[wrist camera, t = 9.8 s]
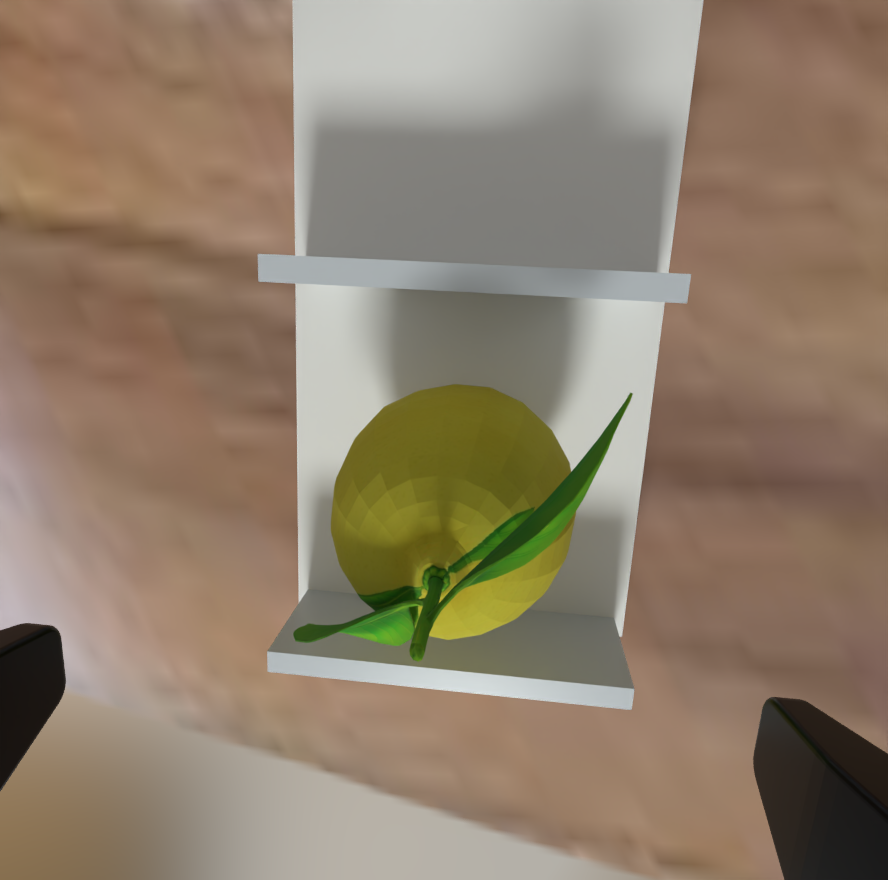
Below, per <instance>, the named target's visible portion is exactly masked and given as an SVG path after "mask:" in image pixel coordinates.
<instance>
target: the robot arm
mask: <svg viewBox="0 0 888 880" xmlns="http://www.w3.org/2000/svg"><path fill="white" fill-rule="evenodd" d="M65 684H66V677H65V668H64V660H63V651H62V642H61V636H60V633H59V631H58V630H57V629H56V628H55V627H54V626H50V625H41V624H31V623H24V624H19V625H16V626H13V627H10V628H6V629H3V630H0V791H1V790H2V788H3V786H4V785H5V784H6V782H7V781H8V779H9V777H10V776H11V775H12V773H13V771H14V770H15V768H16V767H17V765H18V764H19V762H20V761H21V759H22V758H23V756H24V755H25V753H26V752H27V750H28V749H29V747H30V746H31V744H32V743H33V741H34V740H35V738H36V737H37V735H38V734H39V732H40V731H41V729H42V728H43V726H44V724H45V723H46V722H47V720H48V719H49V717H50V716H51V714H52V713H53V711H54V710H55V708H56V706H57V705H58V704H59V702H60V700H61V698H62V696H63V693H64V690H65ZM753 765H754V773H755V778H756V781H757V785H758V789H759V792H760V796H761V799H762V803H763V806H764V810H765V813H766V817H767V820H768V824H769V827H770V831H771V834H772V838H773V841H774V845H775V848H776V852H777V855H778V859H779V862H780V866H781V869H782V873H783V876H784V880H888V754H887V753H886V752H884V751H883V750H881V749H879V748H878V747H876V746H875V745H873V744H872V743H870V742H869V741H867V740H866V739H864V738H862V737H861V736H859V735H858V734H856V733H855V732H853V731H852V730H850V729H848V728H847V727H845V726H844V725H842V724H841V723H839V722H838V721H836V720H834V719H833V718H831V717H830V716H828V715H827V714H825V713H824V712H822V711H821V710H819V709H817V708H816V707H814V706H813V705H811V704H810V703H808V702H806V701H804V700H800V699H790V698H780V697H771V698H769V699H768V700H766V702H765V704H764V706H763V709H762V714H761V719H760V724H759V729H758V735H757V740H756V745H755V750H754V757H753Z"/></svg>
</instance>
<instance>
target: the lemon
mask: <svg viewBox="0 0 888 880" xmlns="http://www.w3.org/2000/svg"><path fill="white" fill-rule="evenodd" d="M632 395H633V393H631V392H630V394H629V395H628V397H627V399H626V401H625V402H624V403H623V405H622V406H621V408H620V409H619V410H618V412H617V413H616V415H615V416H614V418H613V419H612V420H611V422H610V423H609V424H608V426H607V427H606V429H605V430H604V431H603V433H602V434H601V436H600V437H599V438H598V440H597V441H596V442H595V443H594V445H593V446H592V447H591V448H590V450H589V451H588V452H587V453H586V455H585V456H584V457H583V458H582V460H581V461H580V462H579V463H578V465H577V466H576V467H575V468H574V469H573V470H572V471H571V468H570V463H569V461H568V459H567V457H566V455H565V453H564V451H563V450H562V448H561V446H560V444H559V442H558V440H557V439H556V437H555V435H554V433H553V431H552V430H551V429H550V428H549V427H548V426H547V425H546V424H545V423H544V422H543V421H542V420H541V419H540V418H539V417H538V416H537V415H536V414H534V413H533V412H532V411H531V410H530V409H529V408H528V407H527V406H526V405H525V404H524V403H523V402H521V401H519V400H517V399H514V398H512V397H510V396H508V395H506V394H504V393H501V392H499V391H497V390H495V389H493V388H491V387H482V386H471V385H461V384H453V385H447V386H441V387H435V388H430V389H424V390H419V391H416V392H414V393H412V394H410V395H408V396H406V397H404V398H401V399H399V400H397V401H395V402H393V403H391V404H389V405H387V406H385V407H383V408H382V409H381V410H380V412H379V413H378V414H377V415H376V416H375V417H374V418H373V419H372V420H371V421H370V422H369V423H368V424H367V425H366V426H365V428H364V429H363V430H362V431H361V432H360V433H359V434H358V435H357V436H356V438H355V439H354V441H353V443H352V445H351V447H350V449H349V452H348V454H347V456H346V458H345V460H344V462H343V465H342V467H341V469H340V471H339V473H338V475H337V478H336V481H335V486H334V494H333V504H332V514H331V534H332V538H333V542H334V546H335V550H336V554H337V558H338V562H339V565H340V567H341V569H342V571H343V572H344V574H345V575H346V577H347V578H348V580H349V582H350V583H351V585H352V586H353V588H354V589H355V591H356V593H357V594H358V596H359V597H360V599H361V600H363V601H364V602H365V603H366V604H367V605H368V606H370V607H371V608H372V609H373V610H374V611H375V612H372V613H369V614H367V615H364V616H361V617H359V618H356V619H354V620H352V621H349V622H347V623H343V624H336V625H315V624H310V623H309V624H307V625H305V626H302V627H299V628H297V629H296V630H295V631H294V633H293V636H294V639H295V641H296V642H303V643H310V642H314V641H317V640H320V639H323V638H326V637H328V636H330V635H333V634H335V633H337V632H340V633H345V634H349V635H352V636H356V637H360V638H363V639H367V640H370V641H374V642H377V643H381V644H386V645H392V646H400V645H402V644H404V643H405V642H407V641H409V640H411V638H412V636H413V638H412V641H411V645H410V649H409V652H410V656H411V657H412V659H413V660H415V661H417V662H419V661H421V660H422V659H423V657H424V654H425V649H426V645H427V641H428V637H429V636H431V637H436V638H441V639H446V640H451V639H458V638H464V637H470V636H477V635H481V634H484V633H486V632H488V631H491V630H493V629H495V628H498V627H500V626H502V625H504V624H507V623H509V622H511V621H513V620H515V619H517V618H518V617H519V616H520V615H521V614H522V613H523V612H525V611H526V610H527V609H528V608H529V607H530V606H531V605H533V604H534V603H535V602H536V601H537V600H538V599H539V598H541V597H542V596H543V595H544V593H545V592H546V591H547V590H548V588H549V587H550V585H551V583H552V581H553V580H554V578H555V576H556V575H557V573H558V571H559V570H560V568H561V566H562V564H563V563H564V561H565V559H566V557H567V554H568V551H569V546H570V541H571V536H572V531H573V526H574V521H575V517H576V510H577V509H578V507H579V506H580V504H581V502H582V501H583V499H584V497H585V495H586V493H587V491H588V489H589V487H590V485H591V483H592V481H593V479H594V477H595V475H596V473H597V471H598V469H599V467H600V465H601V463H602V461H603V459H604V457H605V455H606V453H607V451H608V448H609V446H610V443H611V441H612V439H613V436H614V434H615V431H616V429H617V427H618V425H619V423H620V421H621V419H622V417H623V415H624V413H625V411H626V409H627V407H628V405H629V403H630V401H631V398H632ZM413 633H414V634H413Z"/></svg>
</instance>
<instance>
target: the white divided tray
mask: <svg viewBox="0 0 888 880" xmlns="http://www.w3.org/2000/svg"><path fill="white" fill-rule="evenodd" d="M702 7H703V0H293V82H294V181H295V256H293V255H272V254H258V280H259V282H278V283H296V378H297V477H298V575H299V604H298V605H297V607H296V608H295V610H294V611H293V613H292V615H291V616H290V618H289V619H288V621H287V622H286V624H285V625H284V627H283V628H282V630H281V631H280V633H279V634H278V636H277V637H276V639H275V641H274V642H273V644H272V645H271V647H270V648H269V650H268V651H267V657H268V672H276V673H285V674H295V675H304V676H314V677H323V678H333V679H342V680H352V681H361V682H371V683H380V684H390V685H399V686H409V687H418V688H428V689H437V690H447V691H456V692H466V693H475V694H485V695H494V696H504V697H513V698H523V699H532V700H542V701H551V702H561V703H570V704H580V705H589V706H599V707H608V708H618V709H627V710H632V703H633V696H634V686H633V682H632V679H631V675H630V672H629V668H628V665H627V661H626V658H625V654H624V651H623V647H622V644H621V640H620V637H619V636H621V637H622V632H623V624H624V617H625V609H626V601H627V593H628V585H629V577H630V570H631V562H632V554H633V546H634V538H635V531H636V523H637V515H638V507H639V499H640V492H641V484H642V476H643V468H644V460H645V452H646V445H647V437H648V429H649V421H650V413H651V406H652V398H653V390H654V382H655V374H656V367H657V359H658V351H659V343H660V335H661V328H662V320H663V312H664V304H665V302H671V303H687V300H688V293H689V286H690V278H691V274H676V273H669V265H670V257H671V249H672V242H673V234H674V226H675V218H676V210H677V203H678V195H679V187H680V179H681V171H682V163H683V156H684V148H685V140H686V132H687V124H688V117H689V109H690V101H691V93H692V85H693V78H694V70H695V62H696V54H697V46H698V38H699V31H700V23H701V15H702ZM453 384H461V385H471V386H482V387H491V388H493V389H495V390H497V391H499V392H501V393H504V394H506V395H508V396H510V397H512V398H514V399H517V400H519V401H521V402H523V403H524V404H525V405H526V406H527V407H528V408H529V409H530V410H531V411H532V412H533V413H534V414H536V415H537V416H538V417H539V418H540V419H541V420H542V421H543V422H544V423H545V424H546V425H547V426H548V427H549V428H550V429H551V430H552V431H553V433H554V435H555V437H556V439H557V440H558V442H559V444H560V446H561V448H562V450H563V451H564V453H565V455H566V457H567V459H568V461H569V463H570V468H571V471H572V470H573V469H574V468H575V467H576V466H577V465H578V463H579V462H580V461H581V460H582V458H583V457H584V456H585V455H586V453H587V452H588V451H589V450H590V448H591V447H592V446H593V445H594V443H595V442H596V441H597V440H598V438H599V437H600V436H601V434H602V433H603V431H604V430H605V429H606V427H607V426H608V424H609V423H610V422H611V420H612V419H613V418H614V416H615V415H616V413H617V412H618V410H619V409H620V408H621V406H622V405H623V403H624V402H625V401H626V399H627V397H628V395H629V394H630V392H631V393H633V395H632V398H631V401H630V403H629V405H628V407H627V409H626V411H625V413H624V415H623V417H622V419H621V421H620V423H619V425H618V427H617V429H616V431H615V434H614V436H613V439H612V441H611V443H610V446H609V448H608V451H607V453H606V455H605V457H604V459H603V461H602V463H601V465H600V467H599V469H598V471H597V473H596V475H595V477H594V479H593V481H592V483H591V485H590V487H589V489H588V491H587V493H586V495H585V497H584V499H583V501H582V502H581V504H580V506H579V507H578V509H577V510H576V517H575V521H574V526H573V531H572V536H571V541H570V546H569V551H568V554H567V557H566V559H565V561H564V563H563V564H562V566H561V568H560V570H559V571H558V573H557V575H556V576H555V578H554V580H553V581H552V583H551V585H550V587H549V588H548V590H547V591H546V592H545V593H544V595H543V596H542V597H541V598H539V599H538V600H537V601H536V602H535V603H534V604H533V605H531V606H530V607H529V608H528V609H527V610H526V611H525V612H523V613H522V614H521V615H520V616H519V617H518V618H517V619H515V620H513V621H511V622H509V623H507V624H504V625H502V626H500V627H498V628H495V629H493V630H491V631H488V632H486V633H484V634H481V635H477V636H470V637H464V638H458V639H451V640H446V639H441V638H436V637H431V636H429V637H428V641H427V645H426V649H425V654H424V657H423V659H422V660H421V661H419V662H417V661H415V660H413V659H412V657H411V656H410V652H409V649H410V645H411V641H412V638H413V636H412V638H411V640H409V641H407V642H405V643H404V644H402V645H400V646H392V645H386V644H381V643H377V642H374V641H370V640H367V639H363V638H360V637H356V636H352V635H349V634H345V633H340V632H337V633H335V634H333V635H330V636H328V637H326V638H323V639H320V640H317V641H314V642H310V643H303V642H296V641H295V639H294V636H293V633H294V631H295V630H296V629H297V628H299V627H302V626H305V625H307V624H309V623H310V624H315V625H336V624H343V623H347V622H349V621H352V620H354V619H356V618H359V617H361V616H364V615H367V614H369V613H372V612H375V611H374V610H373V609H372V608H371V607H370V606H368V605H367V604H366V603H365V602H364V601H363V600H361V599H360V597H359V596H358V594H357V593H356V591H355V589H354V588H353V586H352V585H351V583H350V582H349V580H348V578H347V577H346V575H345V574H344V572H343V571H342V569H341V567H340V565H339V562H338V558H337V554H336V550H335V546H334V542H333V538H332V534H331V514H332V504H333V494H334V486H335V481H336V478H337V475H338V473H339V471H340V469H341V467H342V465H343V462H344V460H345V458H346V456H347V454H348V452H349V449H350V447H351V445H352V443H353V441H354V439H355V438H356V436H357V435H358V434H359V433H360V432H361V431H362V430H363V429H364V428H365V426H366V425H367V424H368V423H369V422H370V421H371V420H372V419H373V418H374V417H375V416H376V415H377V414H378V413H379V412H380V410H381V409H382V408H383V407H385V406H387V405H389V404H391V403H393V402H395V401H397V400H399V399H401V398H404V397H406V396H408V395H410V394H412V393H414V392H416V391H419V390H424V389H430V388H435V387H441V386H447V385H453ZM413 634H414V633H413Z"/></svg>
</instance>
